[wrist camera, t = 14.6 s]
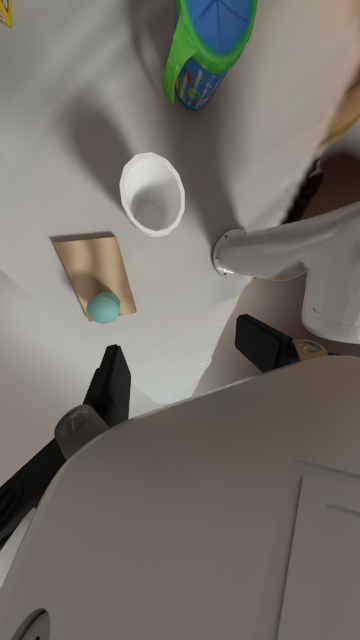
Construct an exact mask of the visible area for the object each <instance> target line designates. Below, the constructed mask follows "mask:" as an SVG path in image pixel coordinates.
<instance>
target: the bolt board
mask: <svg viewBox="0 0 360 640" xmlns="http://www.w3.org/2000/svg"><path fill="white" fill-rule="evenodd" d="M54 245H55V247H56V249H57V252H58V254H59V256H60V258H61V260H62V263H63V265H64V267H65V269H66V271H67V274H68V276H69V278H70V280H71V282H72V285H73V287H74V289H75V291H76V294H77V296H78V298H79V300H80V302H81V305H82V307H83V309H84V311H85V313H86V316H87V318H88V320H89V322H90V321H94V320H92V319H91V318H90V317H89V315H88V314H87V310H86V308H87V304H88V302H89V301H90V300H91V299H92V298H94V297H95V296H97V295H98V294H100V293H101V292H108V293H114V294H115V295H116V296H117V298H118V299H119V300H120V301H121V303H120V311H119V314H118V316H120V315H125V314H131V313H136V307H135V304H134V300H133V296H132V293H131V289H130V285H129V281H128V278H127V274H126V270H125V267H124V263H123V259H122V256H121V252H120V248H119V245H118V241H117V238H116V237H110V238H99V239H89V240H78V241H68V242H57V243H54Z"/></svg>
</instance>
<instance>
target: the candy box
mask: <svg viewBox="0 0 360 640" xmlns="http://www.w3.org/2000/svg"><path fill="white" fill-rule="evenodd" d="M0 20H1V21H2V22H3V23H5V24H6V25H8V26H9V27H11V0H0Z"/></svg>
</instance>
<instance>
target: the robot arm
mask: <svg viewBox="0 0 360 640" xmlns="http://www.w3.org/2000/svg"><path fill="white" fill-rule="evenodd" d="M215 257H216V258H215ZM213 264H214V268H215V269H216V271H217V272H218V273H219V274H220V275H221V276H223V277H226V278H234V277H237V276H239V275H247V276H253V277H259V278H265V279H270V280H279V281H282V280H288V279H292V278H294V277H297V276H299V275H301V274H303V273H304V272H306V271H307V280H306V284H307V286H306V291H305V298H304V303H303V309H302V320H303V323H304V326H305V327H306V328H307V329H308V330H309V331H311V332H312V333H314V334H316V335H318V336H320V337H323V338H327V339H330V340H335V341H341V342H347V343H356V344H357V343H358V344H360V201H359V202H356V203H353V204H351V205H348V206H345V207H342V208H340V209H337V210H334V211H331V212H328V213H325V214H322V215H319V216H316V217H312V218H309V219H305V220H301V221H297V222H293V223H289V224H284V225H281V226H276V227H272V228H267V229H263V230H258V231H254V232H249V233H247V232H246V231H244V230H242V229H233V230H230V231H227V232H226V233H224V234H223V235H222V236H221V237H220V238H219V239H218V241H217V243H216V245H215V247H214V251H213ZM292 339H293V338H291V337H289V336H287V335H286V334H284V333H282V332H280V331H278V330H276V329H274V328H272V327H270V326H268V325H267V324H265V323H263V322H261V321H259V320H257V319H255V318H253V317H252V316H250V315H248V314H244V315H240V316H239V317H238V318H237V323H236V336H235V346H236V348H237V349H238V350H239V351H240V352H241V353H242V354H243V355H244V356H245V357H246V358H248V359H249V360H250V361H251V362H252V363H253V364H254V365H255V366H256V367H257V368H258V369H259V370H260V371H261V372H262V374H259V375H256V376H253V377H250V378H247V379H244V380H241V381H238V382H235V383H232V384H229V385H226V386H223V387H220V388H217V389H214V390H211V391H208V392H205V393H202V394H199V395H196V396H193V397H190V398H187V399H184V400H181V401H178V402H175V403H173V404H170V405H167V406H164V407H161V408H158V409H156V410H153V411H150V412H147V413H144V414H142V415H139V416H136V417H134V418H131V419H129V420H128V415H129V399H130V386H131V374H130V371H129V368H128V365H127V363H126V360H125V357H124V355H123V352H122V349H121V347H120V346H117V345H116V344H115V345H111V346H107V348H106V351H105V354H104V356H103V359H102V362H101V365H100V367H99V368H97V369H96V371H95V373H94V376H93V378H92V381H91V384H90V386H89V389H88V391H87V394H86V397H85V399H84V402H83V404H82V405H79V406H77V407H75V408H73V409H71V410H70V411H69V412H67V414H65V415H64V416H63V417H62V418H61V419H60V421H59V422H58V424H57V425H56V427H55V431H54V435H55V438H54V439H53V440H52V441H50V442H49V443H48V444H47V445H46V446H45V447H44V448H43V449H42V450H41V451H39V452H38V453H37V454H36V455H35V456H34V457H33V458H32V459H31V460H30V461H29V462H27V463H26V464H25V465H24V466H23V467H22V468H21V469H20V470H19V471H18V472H16V473H15V474H14V475H13V476H12V477H11V478H10V479H9V480H8V481H7V482H5V483H4V484H3V485H2V486H1V487H0V640H360V358H359V357H353V356H345V355H339V354H334V353H328V352H326V350H325V349H324V348H323V347H322V346H321V345H319V344H318V343H315V342H312V341H308V340H297V341H295V343H294V344H293V343H291V342H292Z"/></svg>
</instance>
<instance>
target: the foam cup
mask: <svg viewBox="0 0 360 640" xmlns="http://www.w3.org/2000/svg"><path fill="white" fill-rule="evenodd" d="M119 185H120V193H121V200H122V205H123V209H124V211H125V212H126V214H127V216H128V218H129V220H130V222H131V224H132V225H133V226H134V227H136V228H137V229H138V230H139V231H140V232H141V233H142V234H145V235H149V236H152V237H159V236H164V235H167V234H168V233H169V232H170V231H172V230H173V229H174V228H175V227H176V226H177V225H178V224H179V222H180V220H181V217H182V215H183V212H184V210H185V192H184V188H183V185H182V182H181V179H180V176H179V174H178V173H177V171H176V170H175V169H174V168H173V166H172V165H171V164H170V163H169V161H168V160H167V159H165V158H163V157H161V156H159V155H157V154H155V153H153V152H149V153H142V154H136V155H135V156H134V157H133V158H132V159H131V160H130V161H129V162H128V163H127V164H126V165H125V166H124V169H123V173H122V176H121V180H120V184H119Z"/></svg>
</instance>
